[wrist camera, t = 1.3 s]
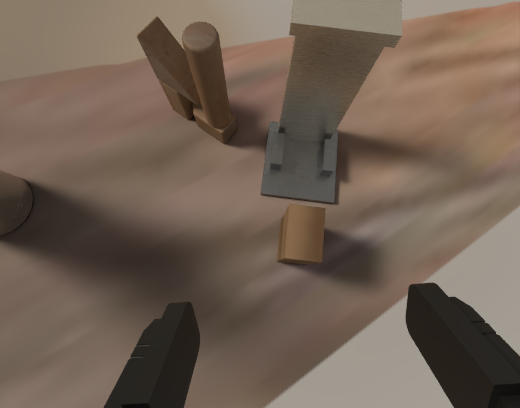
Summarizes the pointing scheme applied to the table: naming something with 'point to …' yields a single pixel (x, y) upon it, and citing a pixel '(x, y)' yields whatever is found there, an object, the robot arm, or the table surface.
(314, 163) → the grey stand
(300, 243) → the brown rectangular block
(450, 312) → the robot arm
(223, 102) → the wooden rod assembly
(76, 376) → the table surface
